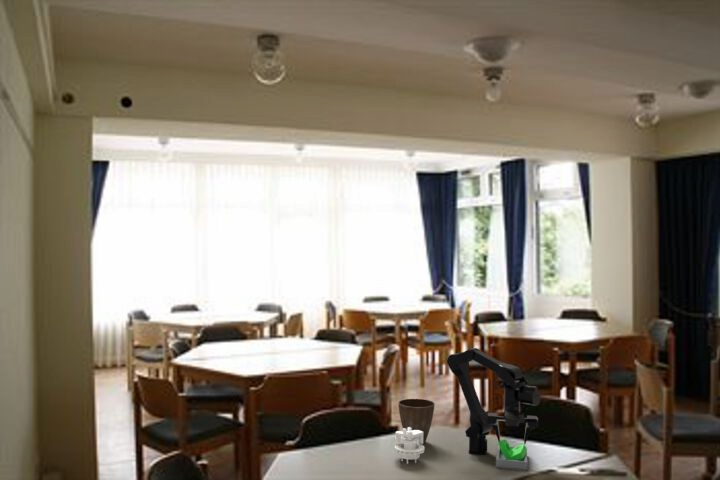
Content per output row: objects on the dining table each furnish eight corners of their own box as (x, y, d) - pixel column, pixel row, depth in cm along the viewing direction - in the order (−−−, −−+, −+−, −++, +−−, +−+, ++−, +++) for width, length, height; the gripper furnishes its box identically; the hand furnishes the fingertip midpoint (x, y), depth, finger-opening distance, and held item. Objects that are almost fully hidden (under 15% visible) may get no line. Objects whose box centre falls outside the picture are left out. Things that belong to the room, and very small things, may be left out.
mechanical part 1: (400, 467, 229) (400, 434, 229) (390, 456, 241) (390, 425, 241) (429, 464, 232) (429, 432, 232) (417, 454, 244) (418, 423, 244)
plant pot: (399, 435, 268) (399, 397, 268) (434, 437, 266) (435, 399, 266) (396, 446, 253) (396, 406, 253) (434, 448, 251) (434, 408, 251)
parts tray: (495, 467, 230) (495, 459, 230) (497, 453, 246) (497, 445, 246) (527, 470, 227) (527, 462, 227) (526, 455, 244) (526, 447, 244)
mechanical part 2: (523, 457, 230) (511, 437, 231) (508, 464, 232) (497, 444, 233) (528, 447, 241) (517, 428, 242) (514, 453, 243) (503, 434, 244)
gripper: (485, 404, 231) (485, 447, 231) (538, 408, 227) (538, 451, 227) (487, 397, 242) (486, 438, 242) (537, 400, 238) (537, 442, 237)
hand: (511, 443), depth 237 cm, fingers open, 9 cm apart
